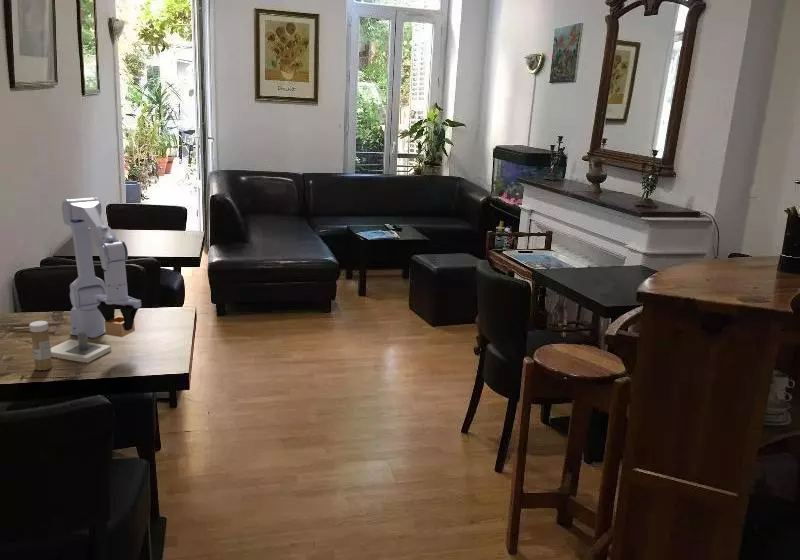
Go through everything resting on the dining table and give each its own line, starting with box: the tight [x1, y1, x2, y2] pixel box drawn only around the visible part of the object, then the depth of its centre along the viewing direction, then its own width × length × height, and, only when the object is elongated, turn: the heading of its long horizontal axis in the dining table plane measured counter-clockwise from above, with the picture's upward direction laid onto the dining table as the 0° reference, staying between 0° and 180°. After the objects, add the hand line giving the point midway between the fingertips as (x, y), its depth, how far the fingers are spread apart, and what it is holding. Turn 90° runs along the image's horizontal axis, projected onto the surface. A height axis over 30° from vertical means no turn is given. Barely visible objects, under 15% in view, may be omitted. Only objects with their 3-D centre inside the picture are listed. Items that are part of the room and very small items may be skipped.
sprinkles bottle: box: [28, 320, 54, 371], centre depth 183 cm, size 5×5×13 cm
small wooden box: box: [104, 315, 136, 338], centre depth 191 cm, size 6×6×4 cm
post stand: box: [50, 332, 112, 364], centre depth 195 cm, size 15×10×6 cm, turn 73°
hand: (120, 328), depth 191 cm, fingers closed on small wooden box, 6 cm apart
